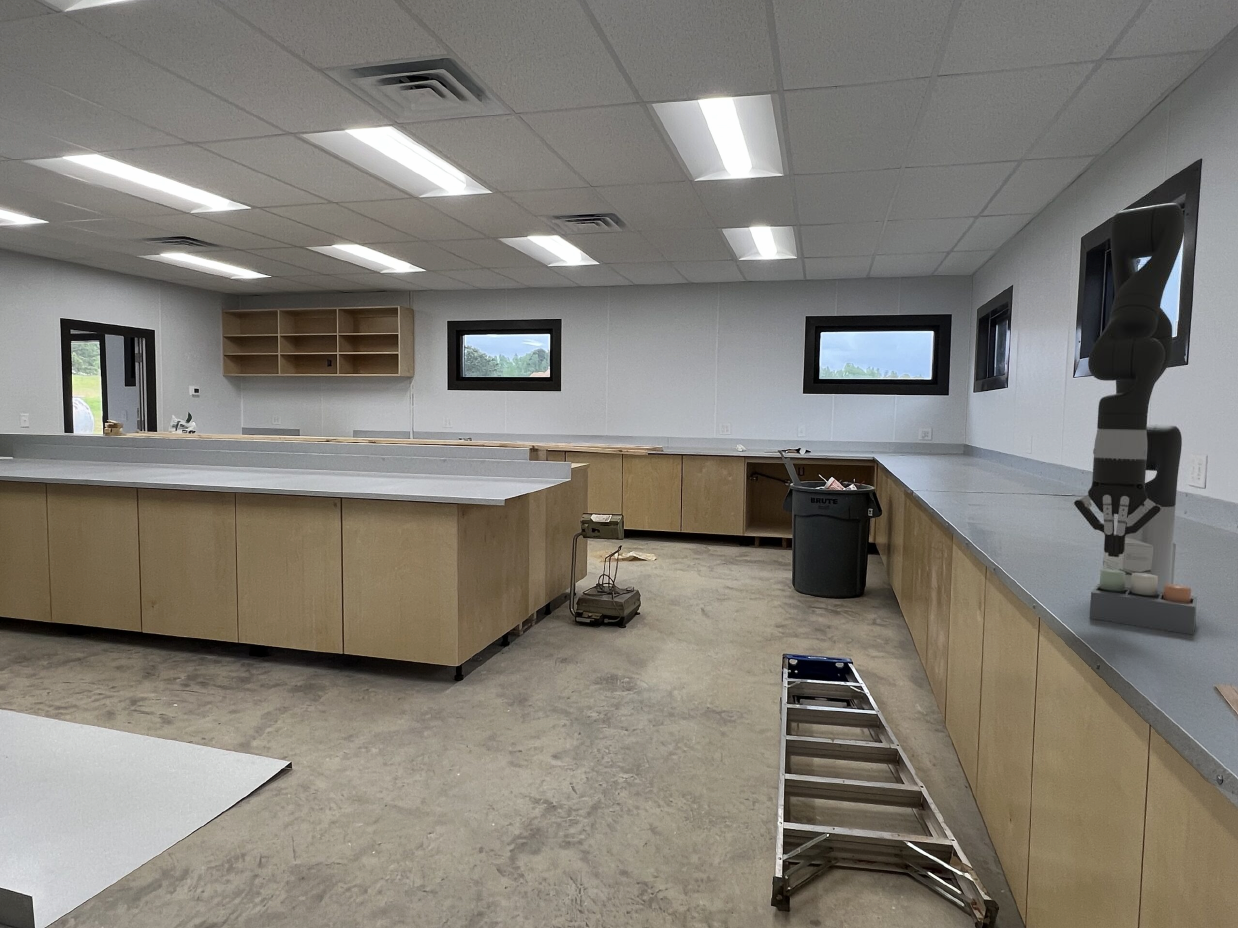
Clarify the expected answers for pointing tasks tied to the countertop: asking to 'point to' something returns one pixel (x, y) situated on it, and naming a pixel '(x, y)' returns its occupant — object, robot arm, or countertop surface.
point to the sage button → (1112, 579)
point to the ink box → (1131, 559)
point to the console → (1143, 610)
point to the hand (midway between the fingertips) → (1113, 556)
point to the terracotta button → (1177, 593)
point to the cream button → (1144, 584)
